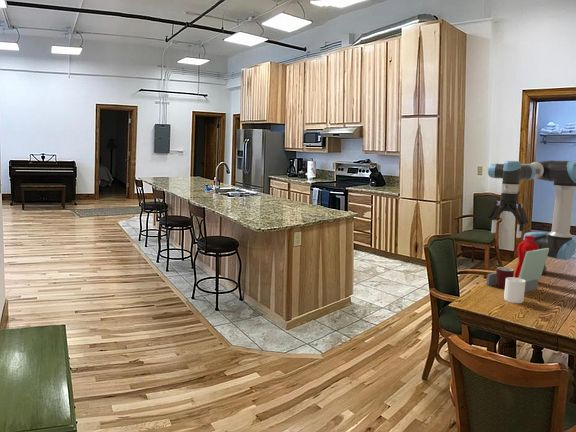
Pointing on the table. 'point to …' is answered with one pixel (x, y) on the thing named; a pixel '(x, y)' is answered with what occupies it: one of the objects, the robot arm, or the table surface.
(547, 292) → the table surface
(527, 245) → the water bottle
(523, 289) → the cup
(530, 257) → the lid
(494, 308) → the table surface
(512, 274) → the mug
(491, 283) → the grey long flat pieces
